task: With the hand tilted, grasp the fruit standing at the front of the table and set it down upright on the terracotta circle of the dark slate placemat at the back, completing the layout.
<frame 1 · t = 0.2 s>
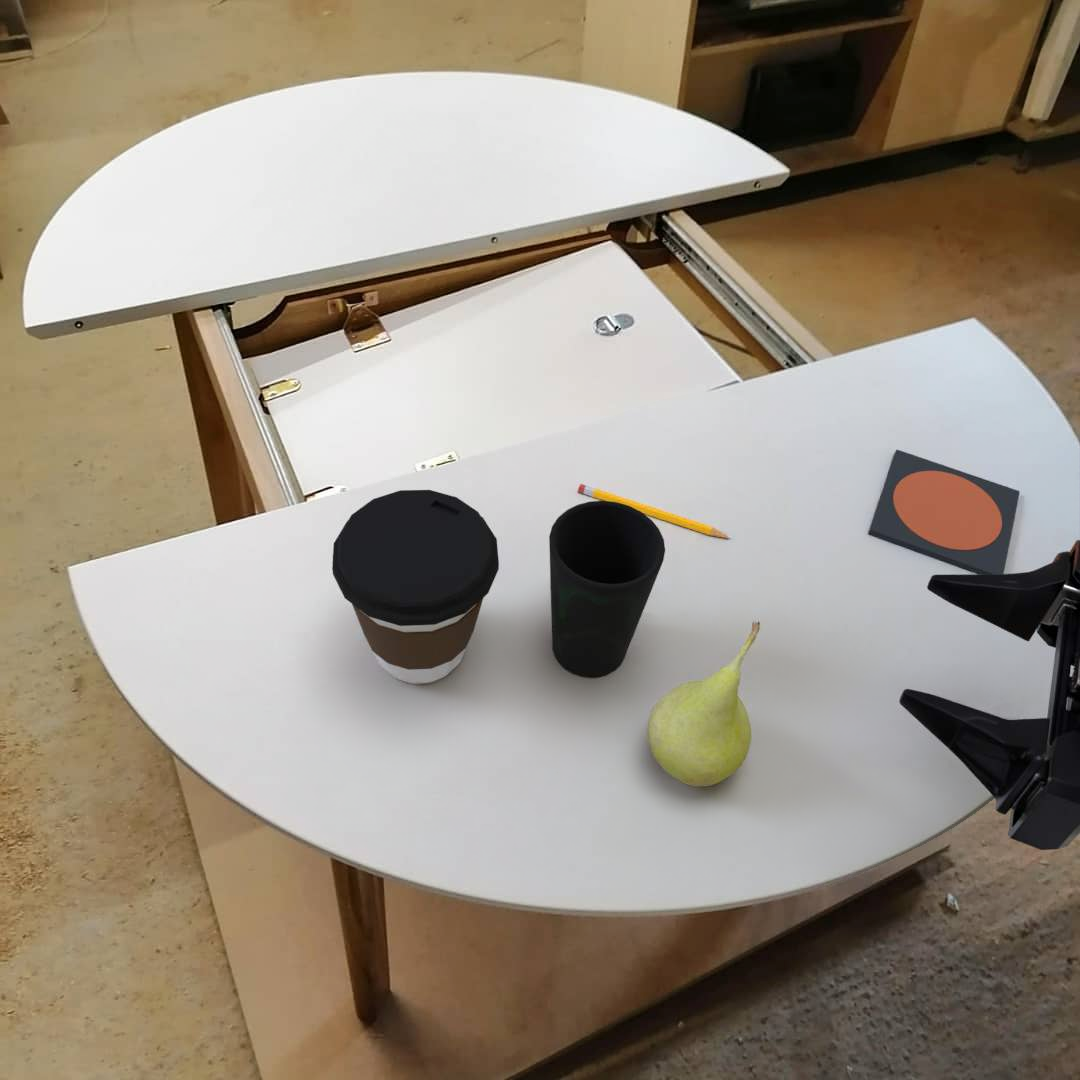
hand: (916, 635, 60), 15 cm above the table, tool horizontal, fingers open, 9 cm apart
fruit: (692, 755, 70), on the table
cup: (588, 648, 75), on the table
coffee cup: (420, 651, 74), on the table
mat: (944, 514, 87), on the table
pencil: (653, 517, 85), on the table
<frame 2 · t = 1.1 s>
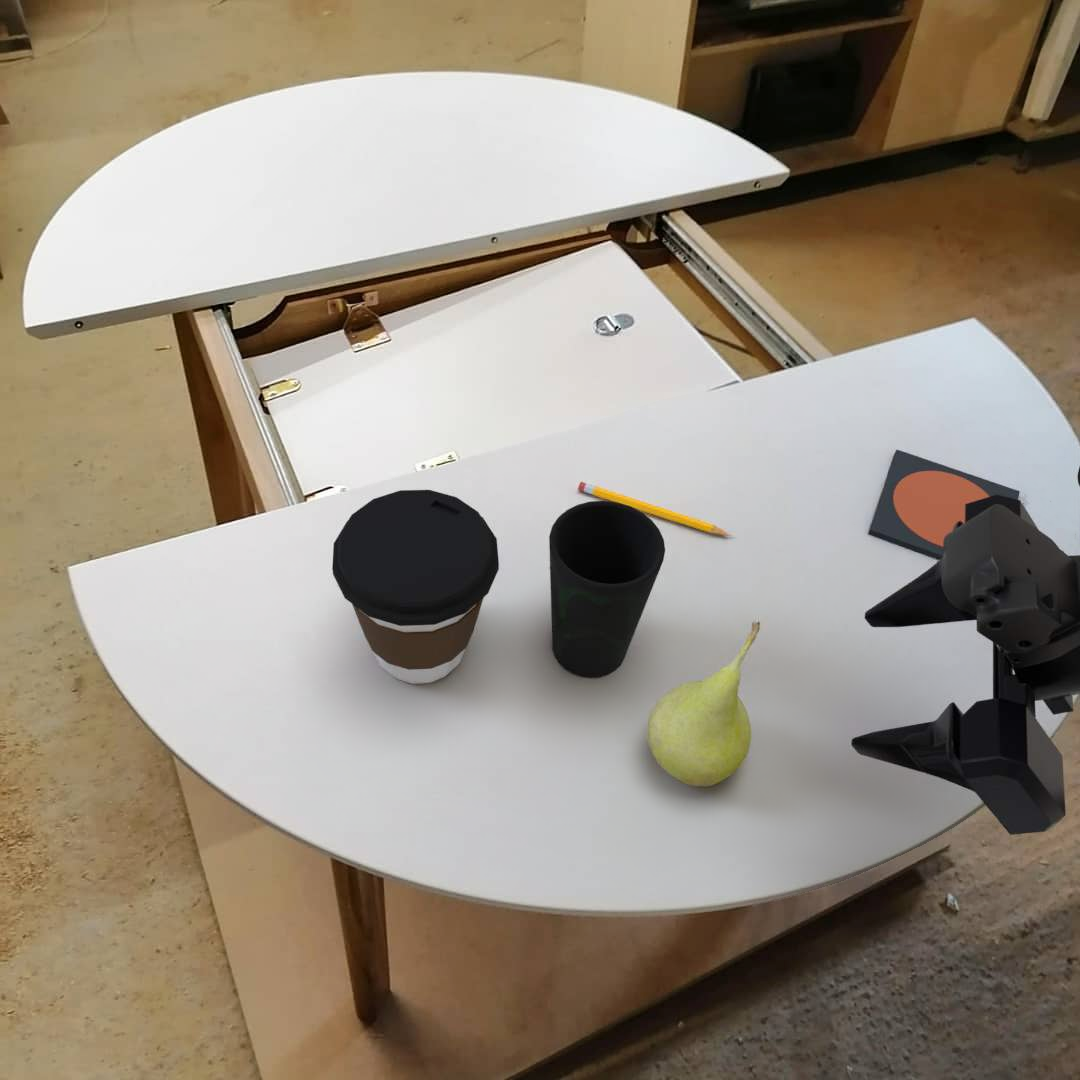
hand: (861, 680, 59), 13 cm above the table, tool tilted 45°, fingers open, 9 cm apart
nothing on the table moved.
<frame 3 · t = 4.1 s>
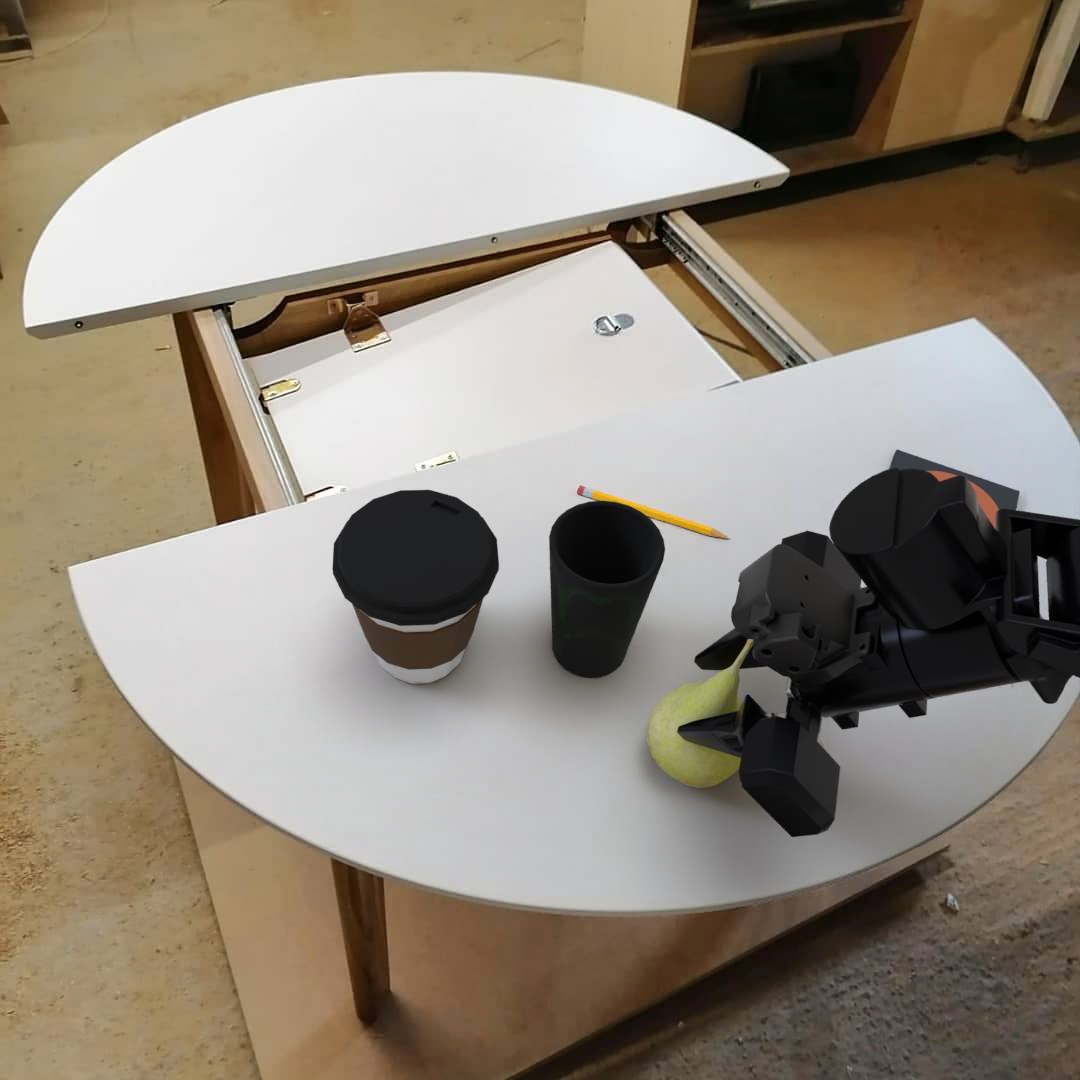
hand: (689, 697, 65), 7 cm above the table, tool tilted 45°, fingers closed on fruit, 5 cm apart
fruit: (692, 755, 70), on the table, touching gripper
everything else where it was.
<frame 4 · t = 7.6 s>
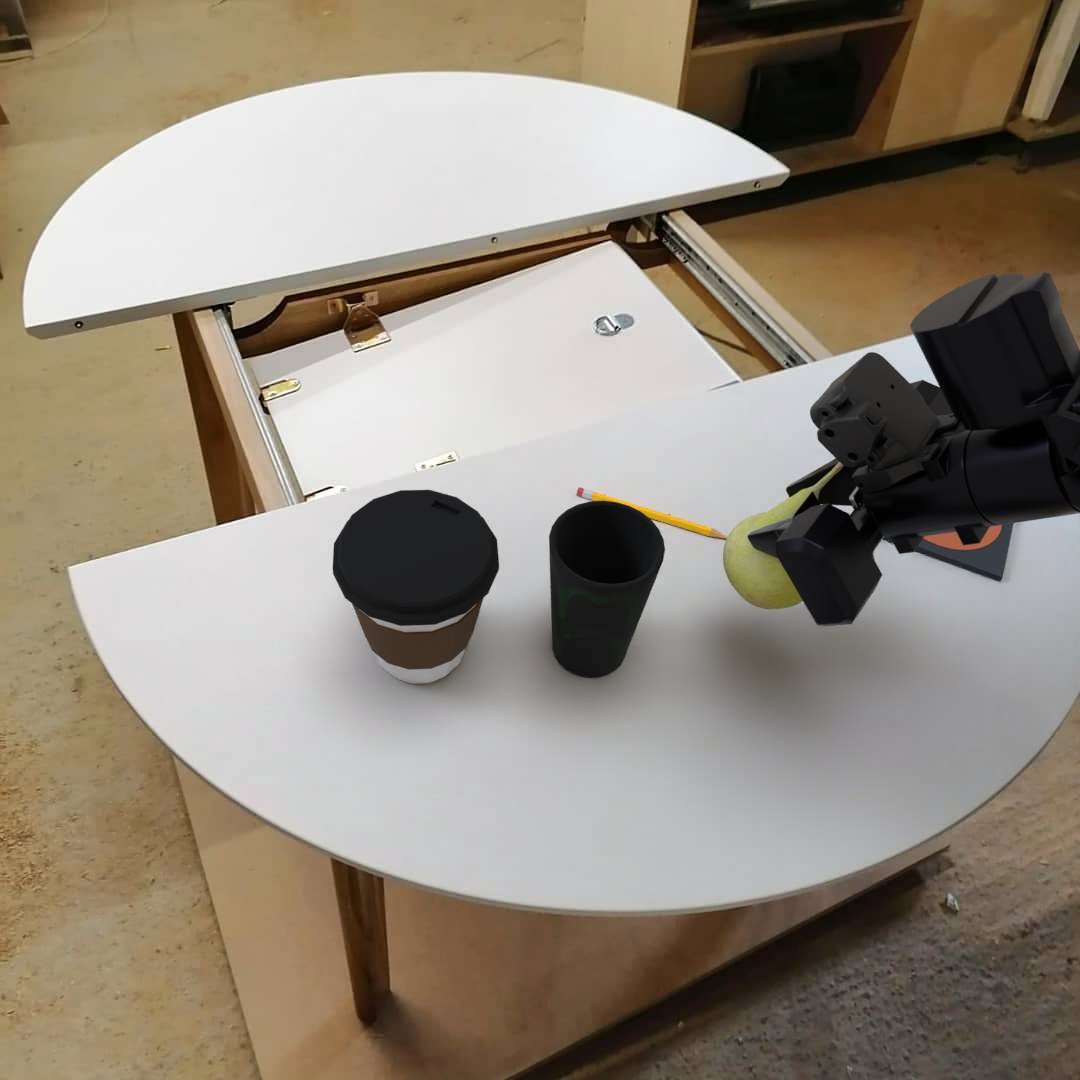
hand: (770, 516, 68), 12 cm above the table, tool tilted 45°, fingers closed on fruit, 5 cm apart
fruit: (766, 588, 73), point 5 cm above the table, touching gripper
everything else where it was.
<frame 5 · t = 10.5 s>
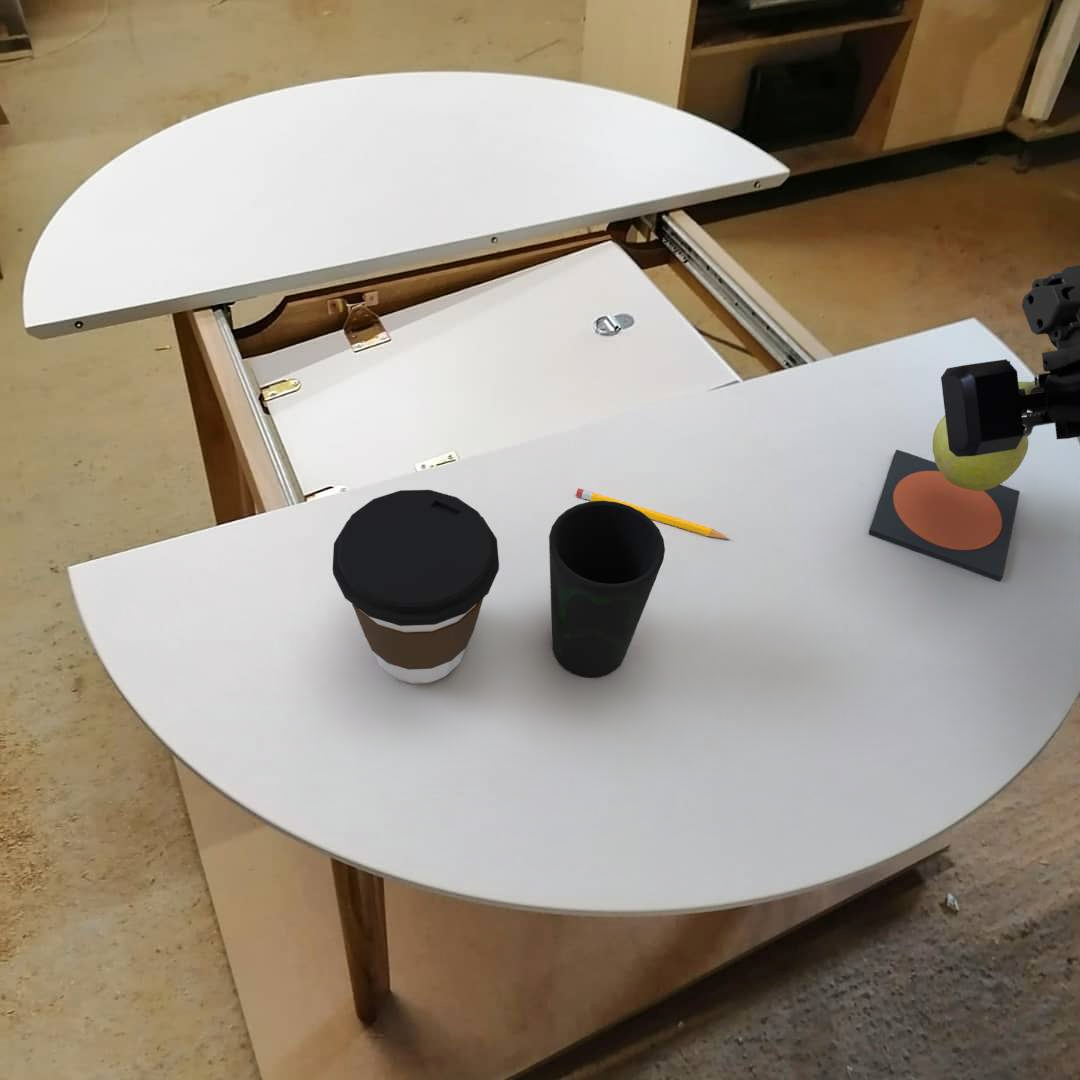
hand: (990, 404, 79), 11 cm above the table, tool tilted 45°, fingers closed on fruit, 5 cm apart
fruit: (966, 478, 83), point 5 cm above the table, touching gripper
everything else where it was.
when the fingers open (7 cm above the table, at t = 12.1 s): fruit stays where it is, resting on mat.
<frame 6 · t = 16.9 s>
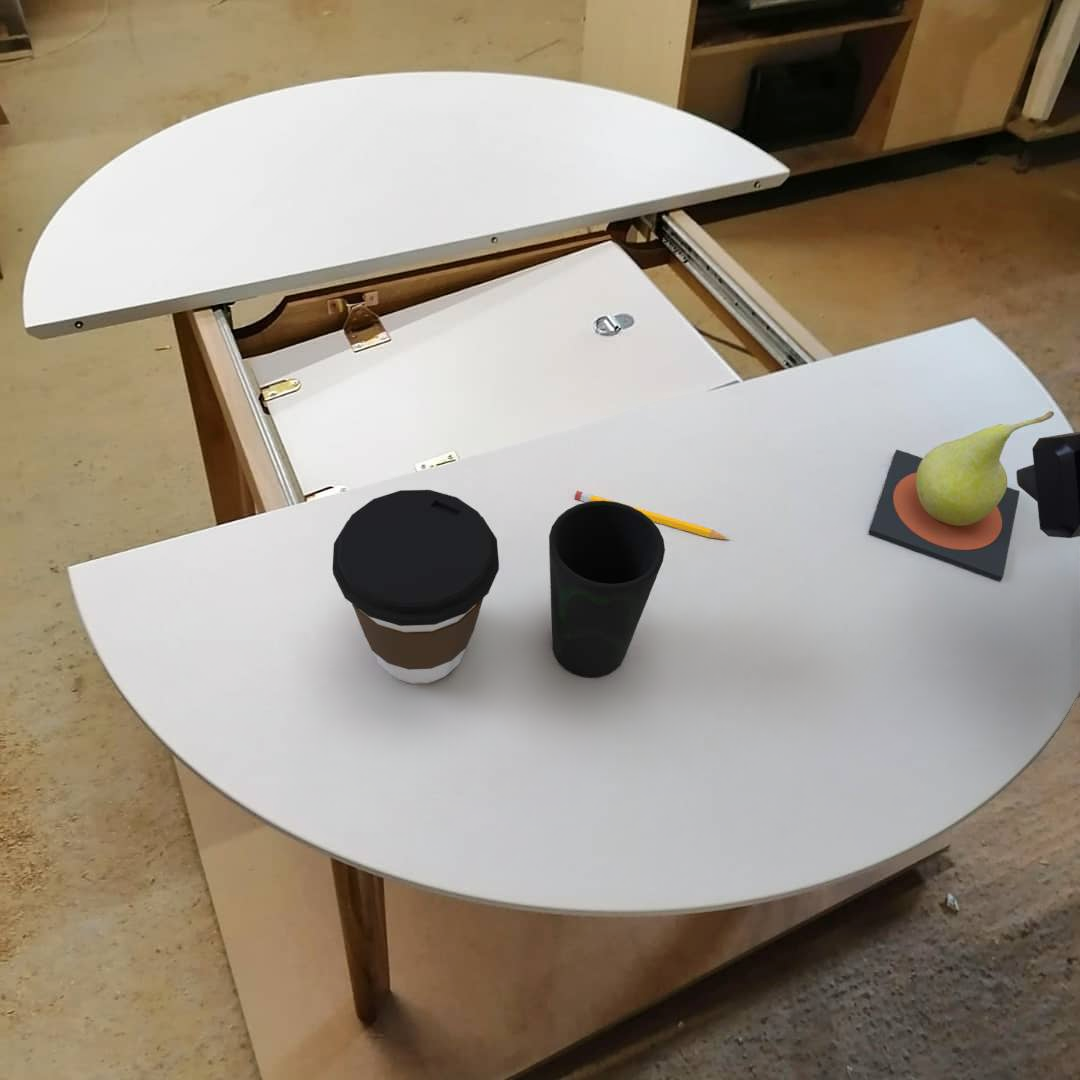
hand: (1074, 467, 72), 14 cm above the table, tool tilted 45°, fingers open, 9 cm apart
fruit: (947, 512, 86), point 1 cm above the table, touching mat
everything else where it was.
at the end: fruit 0.2 cm off-centre on the mat, point 0.5 cm above the mat's base; fruit tilted 0°; the gripper is holding nothing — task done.
